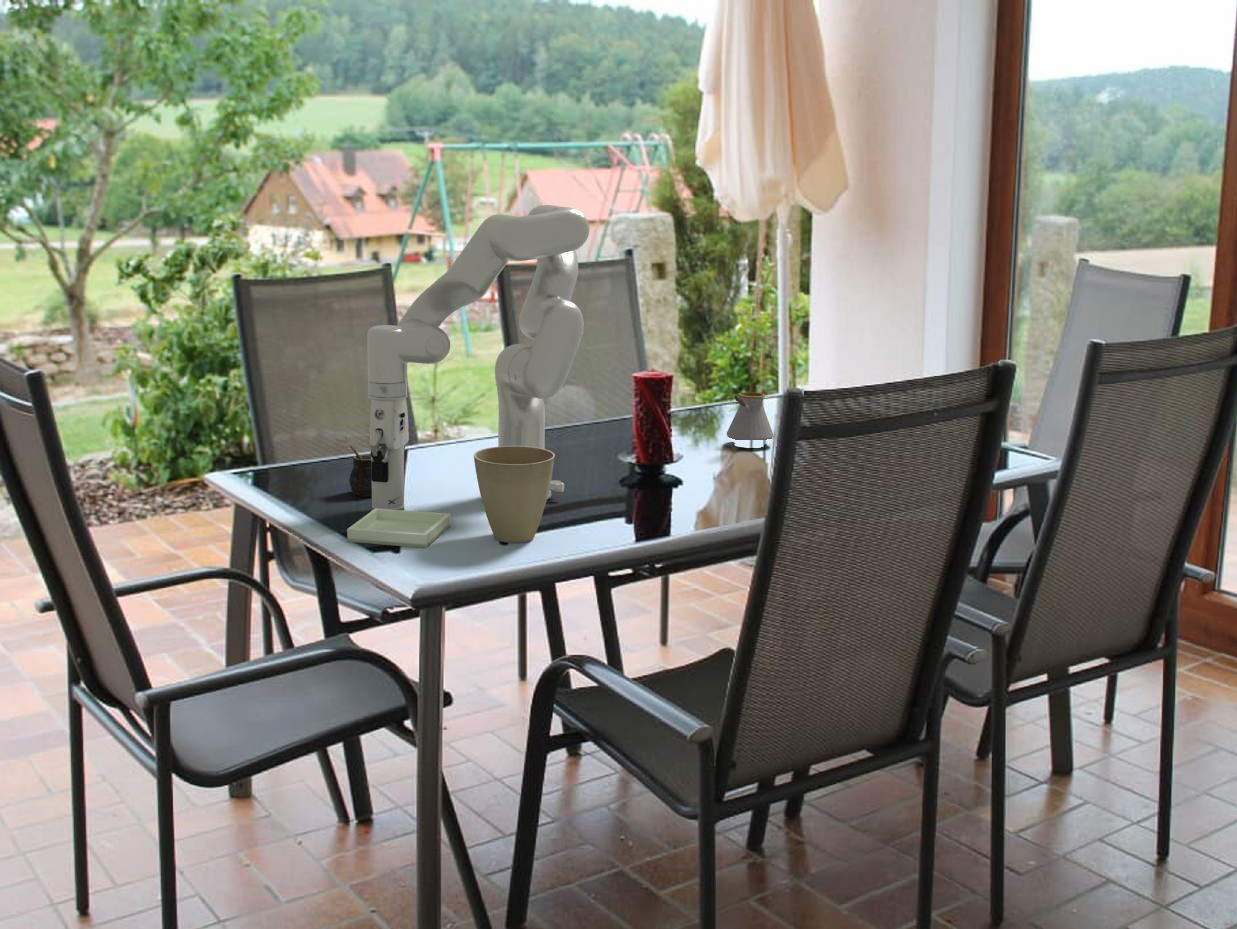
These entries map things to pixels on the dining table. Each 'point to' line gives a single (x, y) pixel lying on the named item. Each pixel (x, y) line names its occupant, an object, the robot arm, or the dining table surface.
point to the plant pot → (514, 489)
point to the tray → (399, 528)
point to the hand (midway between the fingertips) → (388, 475)
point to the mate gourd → (361, 475)
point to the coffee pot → (750, 418)
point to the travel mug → (391, 480)
